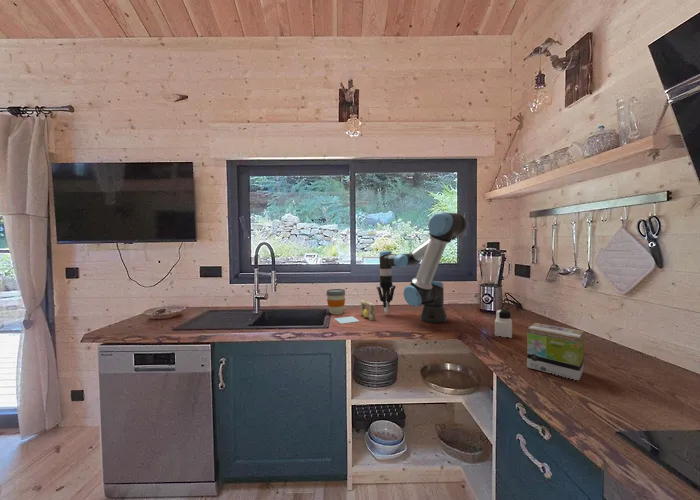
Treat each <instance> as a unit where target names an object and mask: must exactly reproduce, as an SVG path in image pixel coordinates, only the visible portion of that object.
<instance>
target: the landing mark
mask: <svg viewBox="0 0 700 500" xmlns="http://www.w3.org/2000/svg"><path fill="white" fill-rule="evenodd" d="M333 319H334V320H335V321H336V322H338V323H339V324H340V325H341V324H348V323H349V324H350V323H357V322H360V320H359V319H357V318H356V317H354V316H343V317H336V318H333Z"/></svg>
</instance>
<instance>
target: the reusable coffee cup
mask: <svg viewBox="0 0 700 500" xmlns="http://www.w3.org/2000/svg"><path fill="white" fill-rule="evenodd" d="M345 296H346V290H345V289H341V288H332V289H331V288H330V289H327V290H326V297H327V299H326V301H327V306H328V311H329V314H330V313H331V314H330V315H341V314H343V313H344V307H345V303H346V298H345Z"/></svg>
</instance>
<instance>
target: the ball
mask: <svg viewBox="0 0 700 500" xmlns="http://www.w3.org/2000/svg"><path fill="white" fill-rule="evenodd" d="M363 315H364V316H363V317H364V318H368V319H369V308H367V309H365V310H364V311H363Z"/></svg>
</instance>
